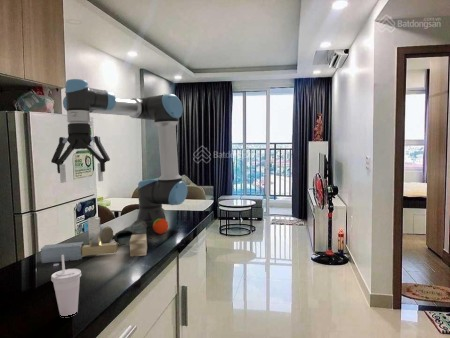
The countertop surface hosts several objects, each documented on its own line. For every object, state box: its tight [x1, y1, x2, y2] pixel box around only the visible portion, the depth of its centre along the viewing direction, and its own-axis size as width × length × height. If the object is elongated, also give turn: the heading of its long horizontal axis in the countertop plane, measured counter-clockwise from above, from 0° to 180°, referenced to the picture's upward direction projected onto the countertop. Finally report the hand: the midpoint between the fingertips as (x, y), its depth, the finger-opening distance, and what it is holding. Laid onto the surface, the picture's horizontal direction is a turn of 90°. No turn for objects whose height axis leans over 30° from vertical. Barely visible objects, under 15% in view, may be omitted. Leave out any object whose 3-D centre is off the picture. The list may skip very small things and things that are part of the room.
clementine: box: [152, 218, 169, 235], centre depth 152 cm, size 8×7×7 cm
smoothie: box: [50, 255, 82, 317], centre depth 78 cm, size 6×6×14 cm
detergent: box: [112, 219, 148, 247], centre depth 146 cm, size 13×7×25 cm
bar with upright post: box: [81, 216, 119, 257], centre depth 121 cm, size 23×4×13 cm, turn 101°
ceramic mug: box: [86, 224, 115, 244], centre depth 142 cm, size 11×8×8 cm
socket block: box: [129, 233, 148, 257], centre depth 125 cm, size 6×9×6 cm, turn 11°
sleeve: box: [40, 241, 85, 264], centre depth 120 cm, size 13×5×5 cm, turn 101°
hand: (82, 181), depth 123 cm, fingers open, 13 cm apart
